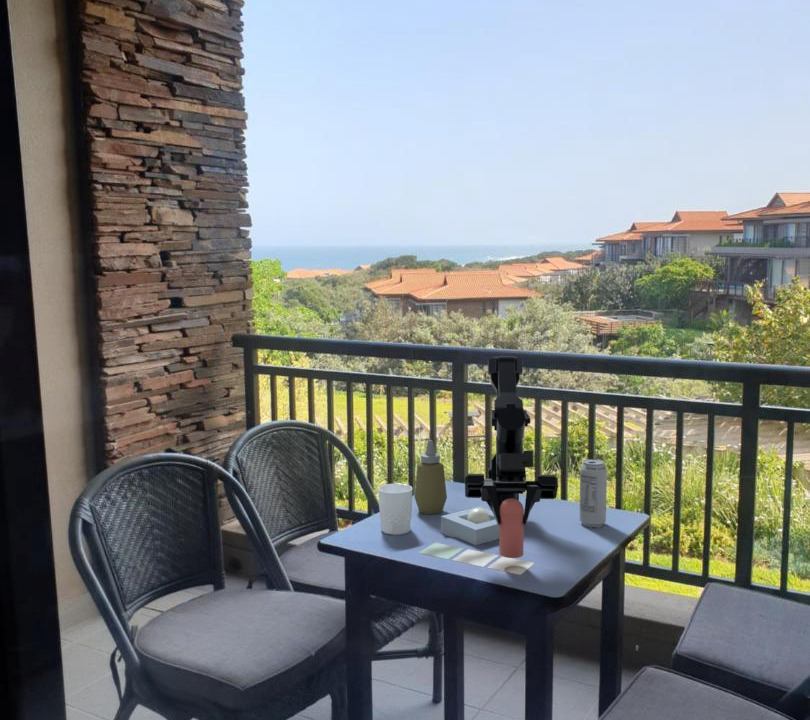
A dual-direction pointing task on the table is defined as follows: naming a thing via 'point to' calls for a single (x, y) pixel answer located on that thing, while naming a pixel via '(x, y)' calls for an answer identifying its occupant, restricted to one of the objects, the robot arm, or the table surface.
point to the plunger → (478, 516)
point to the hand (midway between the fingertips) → (511, 524)
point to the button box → (470, 527)
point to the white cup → (395, 508)
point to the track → (477, 558)
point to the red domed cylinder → (511, 528)
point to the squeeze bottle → (430, 482)
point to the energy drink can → (593, 493)
